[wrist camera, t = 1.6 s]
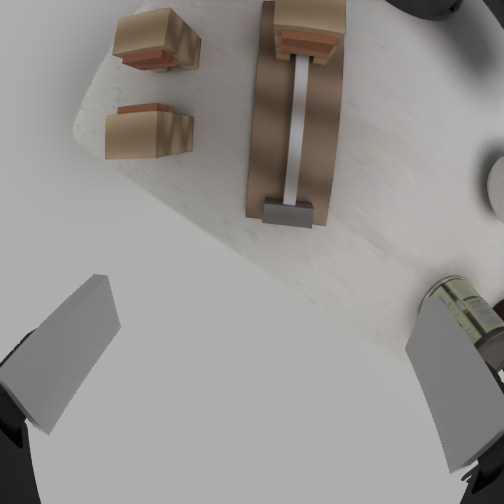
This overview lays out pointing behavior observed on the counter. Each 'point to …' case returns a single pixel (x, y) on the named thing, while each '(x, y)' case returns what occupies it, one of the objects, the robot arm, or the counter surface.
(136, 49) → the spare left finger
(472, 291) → the coffee can
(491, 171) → the lidded jar
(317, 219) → the rail board
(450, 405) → the robot arm
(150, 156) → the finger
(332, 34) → the block
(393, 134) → the counter surface
